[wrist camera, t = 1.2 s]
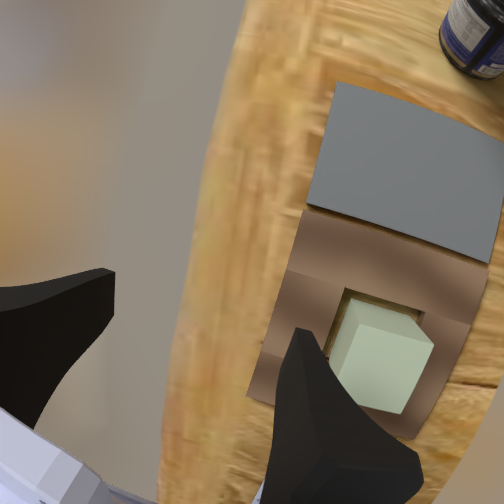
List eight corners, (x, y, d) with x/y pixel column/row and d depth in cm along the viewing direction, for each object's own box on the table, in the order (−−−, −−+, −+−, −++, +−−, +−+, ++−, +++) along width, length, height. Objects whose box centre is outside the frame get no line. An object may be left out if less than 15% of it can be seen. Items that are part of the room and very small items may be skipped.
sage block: (385, 371, 21) (400, 414, 15) (329, 355, 22) (328, 396, 16) (408, 315, 20) (434, 344, 15) (350, 297, 21) (359, 323, 15)
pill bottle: (502, 43, 16) (559, -22, 6) (497, 95, 17) (571, 36, 6) (441, 9, 17) (477, -74, 7) (430, 58, 18) (478, -29, 8)
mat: (485, 262, 19) (488, 263, 18) (306, 203, 21) (305, 202, 21) (507, 147, 18) (510, 146, 17) (337, 83, 20) (337, 81, 20)
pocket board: (411, 432, 21) (413, 439, 20) (249, 389, 23) (245, 395, 22) (483, 269, 19) (489, 271, 18) (304, 210, 21) (303, 209, 20)
